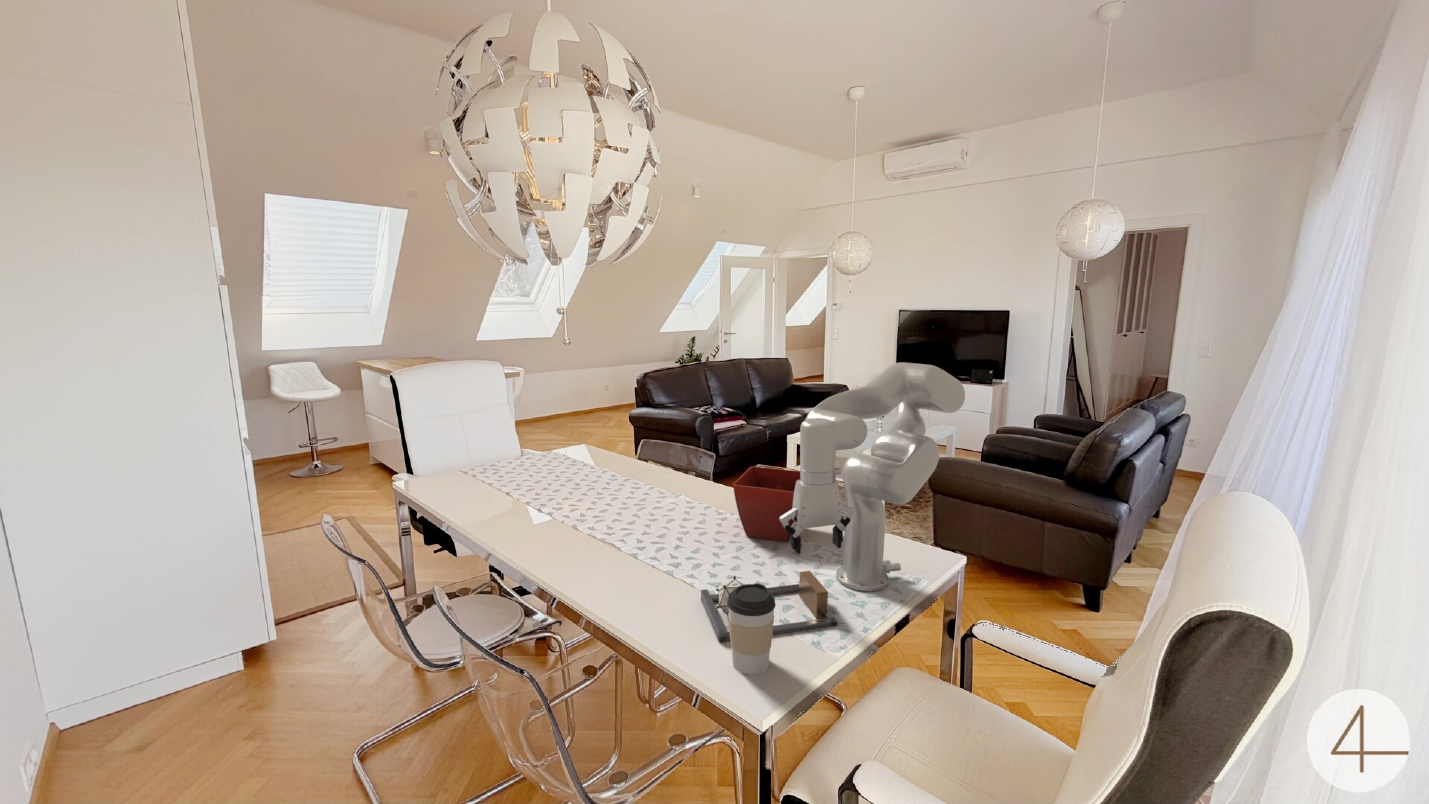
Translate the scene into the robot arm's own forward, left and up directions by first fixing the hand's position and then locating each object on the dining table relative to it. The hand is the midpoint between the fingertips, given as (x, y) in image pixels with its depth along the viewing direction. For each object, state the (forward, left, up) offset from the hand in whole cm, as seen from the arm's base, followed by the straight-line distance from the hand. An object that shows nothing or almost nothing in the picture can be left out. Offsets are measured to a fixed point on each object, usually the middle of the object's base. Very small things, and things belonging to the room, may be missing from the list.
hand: (816, 548), depth 129 cm
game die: (+19, 0, -14) cm, 23 cm away
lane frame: (+12, 0, -14) cm, 18 cm away
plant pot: (-4, -42, -14) cm, 44 cm away
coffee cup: (+20, +17, -14) cm, 30 cm away
